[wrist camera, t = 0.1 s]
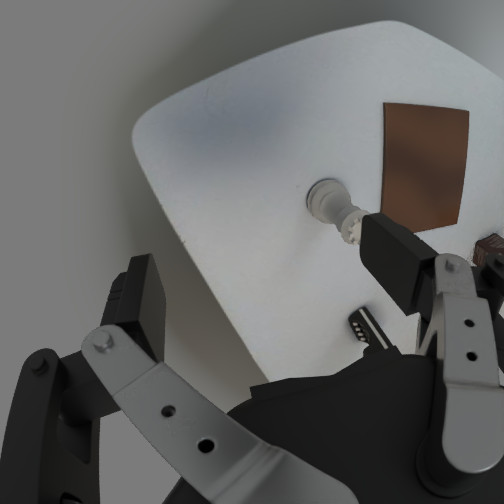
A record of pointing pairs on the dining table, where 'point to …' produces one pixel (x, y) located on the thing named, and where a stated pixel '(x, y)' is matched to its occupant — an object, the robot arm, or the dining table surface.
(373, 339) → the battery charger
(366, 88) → the dining table surface
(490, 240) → the box
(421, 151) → the serving board
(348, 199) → the rook chess piece
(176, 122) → the dining table surface
